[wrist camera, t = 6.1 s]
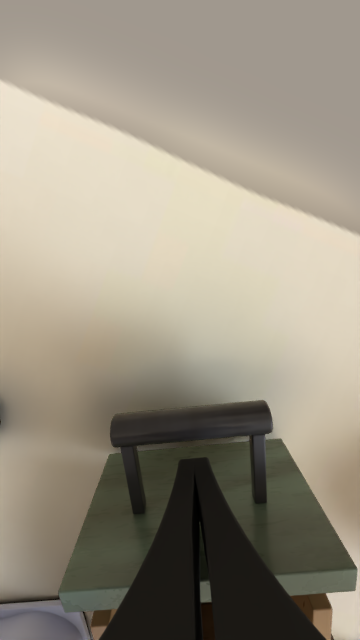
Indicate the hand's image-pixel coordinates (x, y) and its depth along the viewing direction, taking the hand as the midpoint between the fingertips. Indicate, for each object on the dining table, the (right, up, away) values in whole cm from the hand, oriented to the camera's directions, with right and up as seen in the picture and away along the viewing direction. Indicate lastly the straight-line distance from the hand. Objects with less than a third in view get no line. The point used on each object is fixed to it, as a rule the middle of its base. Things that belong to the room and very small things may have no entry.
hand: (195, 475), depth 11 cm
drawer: (+1, -5, +5) cm, 7 cm away
